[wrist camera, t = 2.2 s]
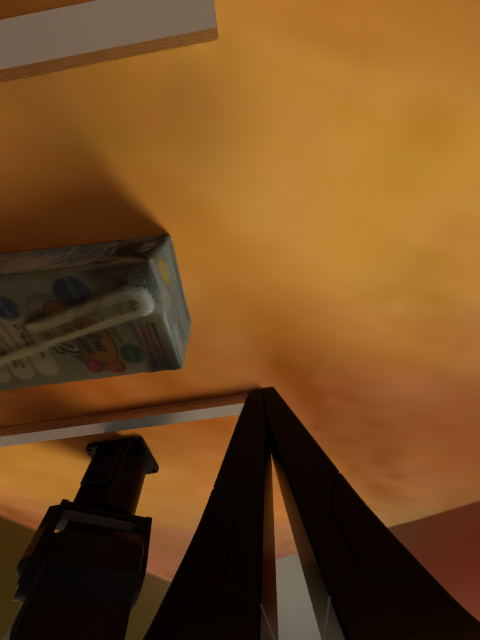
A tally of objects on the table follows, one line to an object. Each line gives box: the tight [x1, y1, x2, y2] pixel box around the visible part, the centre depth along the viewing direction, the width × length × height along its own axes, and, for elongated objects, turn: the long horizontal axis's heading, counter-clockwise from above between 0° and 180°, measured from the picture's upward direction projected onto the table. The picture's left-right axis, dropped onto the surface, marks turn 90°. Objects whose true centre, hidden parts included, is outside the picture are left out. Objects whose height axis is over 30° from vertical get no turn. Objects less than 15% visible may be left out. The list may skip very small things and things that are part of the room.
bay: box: [0, 0, 248, 447], centre depth 18 cm, size 28×31×3 cm
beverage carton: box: [0, 234, 191, 391], centre depth 17 cm, size 8×19×7 cm, turn 96°
